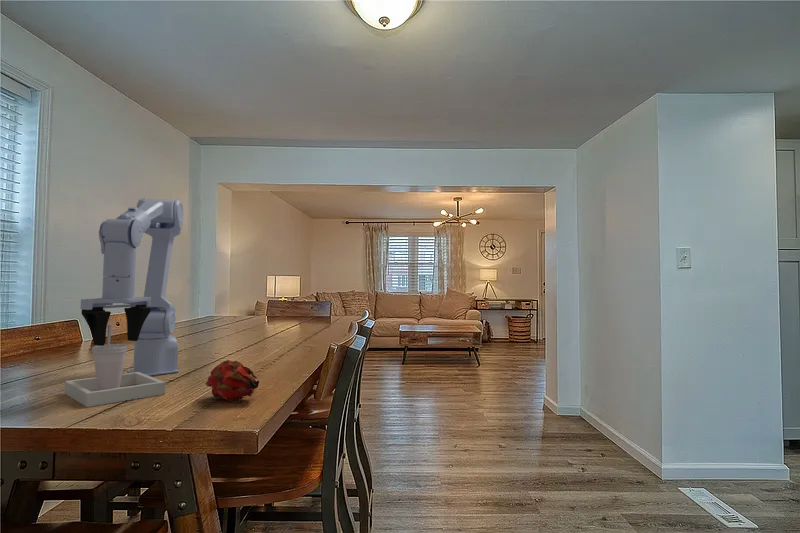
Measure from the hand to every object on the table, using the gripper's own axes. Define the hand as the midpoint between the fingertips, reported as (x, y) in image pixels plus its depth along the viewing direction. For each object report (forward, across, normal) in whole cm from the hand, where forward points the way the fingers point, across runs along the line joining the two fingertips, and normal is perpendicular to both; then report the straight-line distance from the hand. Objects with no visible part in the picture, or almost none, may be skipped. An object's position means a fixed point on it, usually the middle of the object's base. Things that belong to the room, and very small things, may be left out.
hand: (116, 343), depth 98 cm
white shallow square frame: (+10, 0, 0) cm, 10 cm away
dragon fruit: (+11, -7, +24) cm, 27 cm away
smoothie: (+11, 0, -1) cm, 11 cm away
